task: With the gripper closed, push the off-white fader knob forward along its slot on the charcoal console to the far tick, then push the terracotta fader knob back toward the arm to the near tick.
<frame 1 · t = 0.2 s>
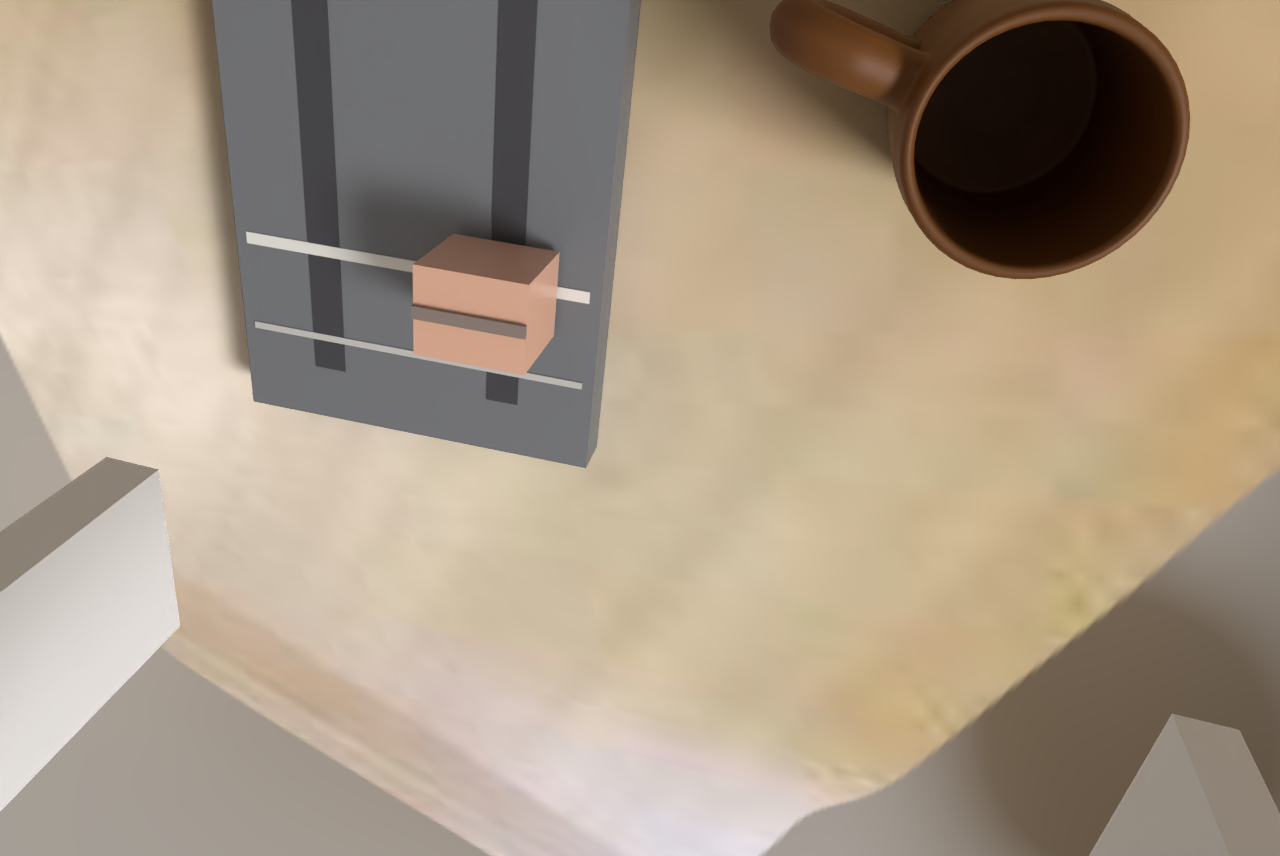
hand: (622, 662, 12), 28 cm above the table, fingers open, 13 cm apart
mug: (938, 70, 33), on the table
fader b: (486, 303, 36), point 4 cm above the table, slide at 20.0 cm
console: (433, 56, 37), on the table
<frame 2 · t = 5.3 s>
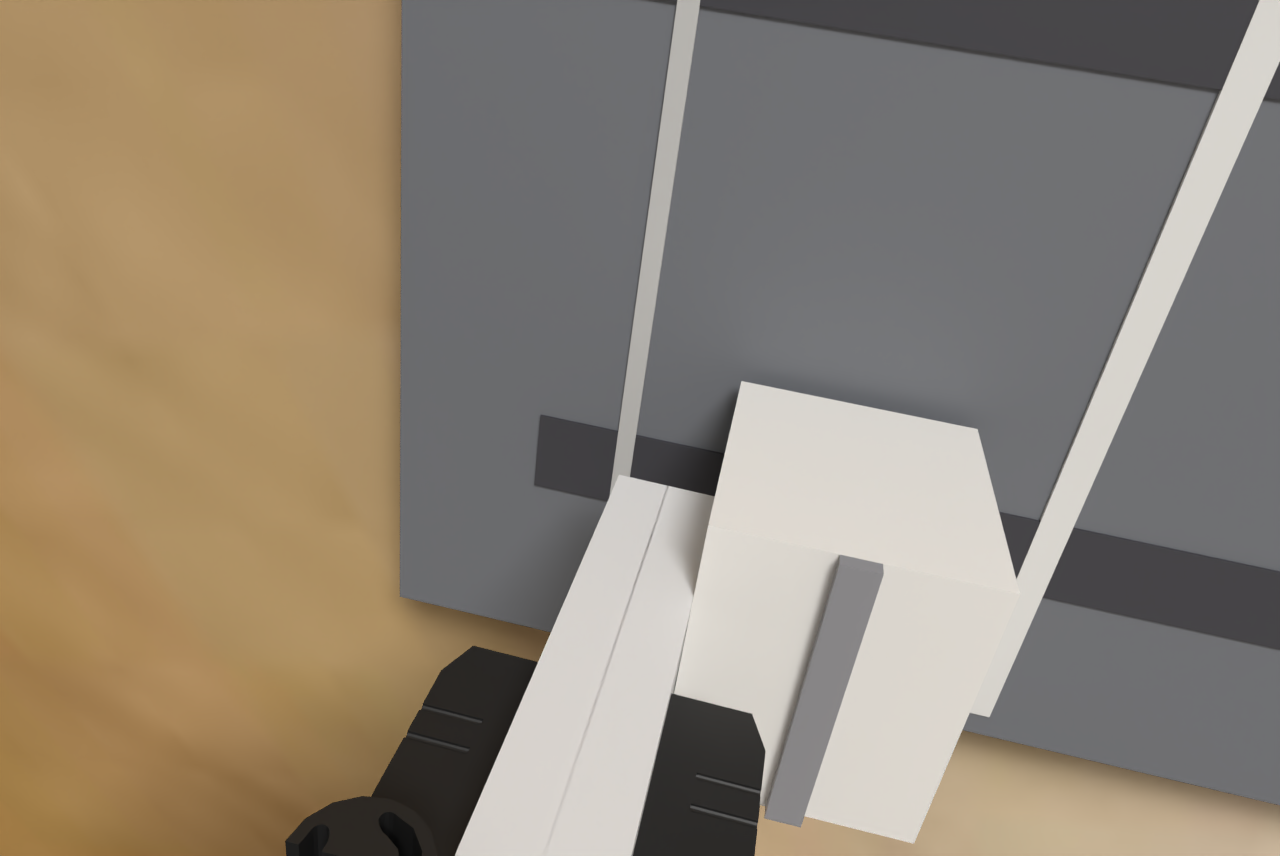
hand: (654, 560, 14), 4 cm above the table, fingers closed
fader a: (822, 602, 13), point 4 cm above the table, slide at 3.5 cm, touching gripper
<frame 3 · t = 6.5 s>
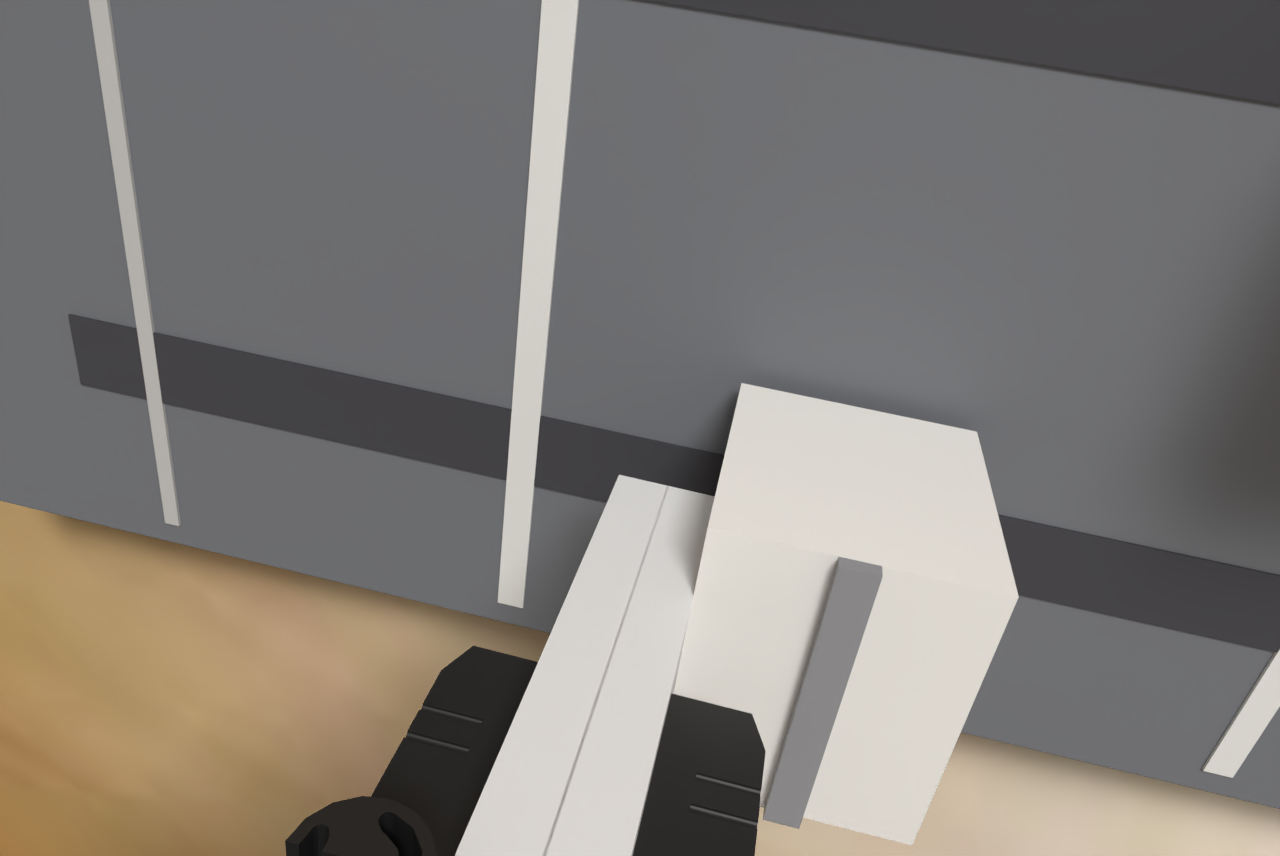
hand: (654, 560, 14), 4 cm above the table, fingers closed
console: (869, 246, 15), on the table
fader a: (821, 604, 14), point 4 cm above the table, slide at 12.2 cm, touching gripper
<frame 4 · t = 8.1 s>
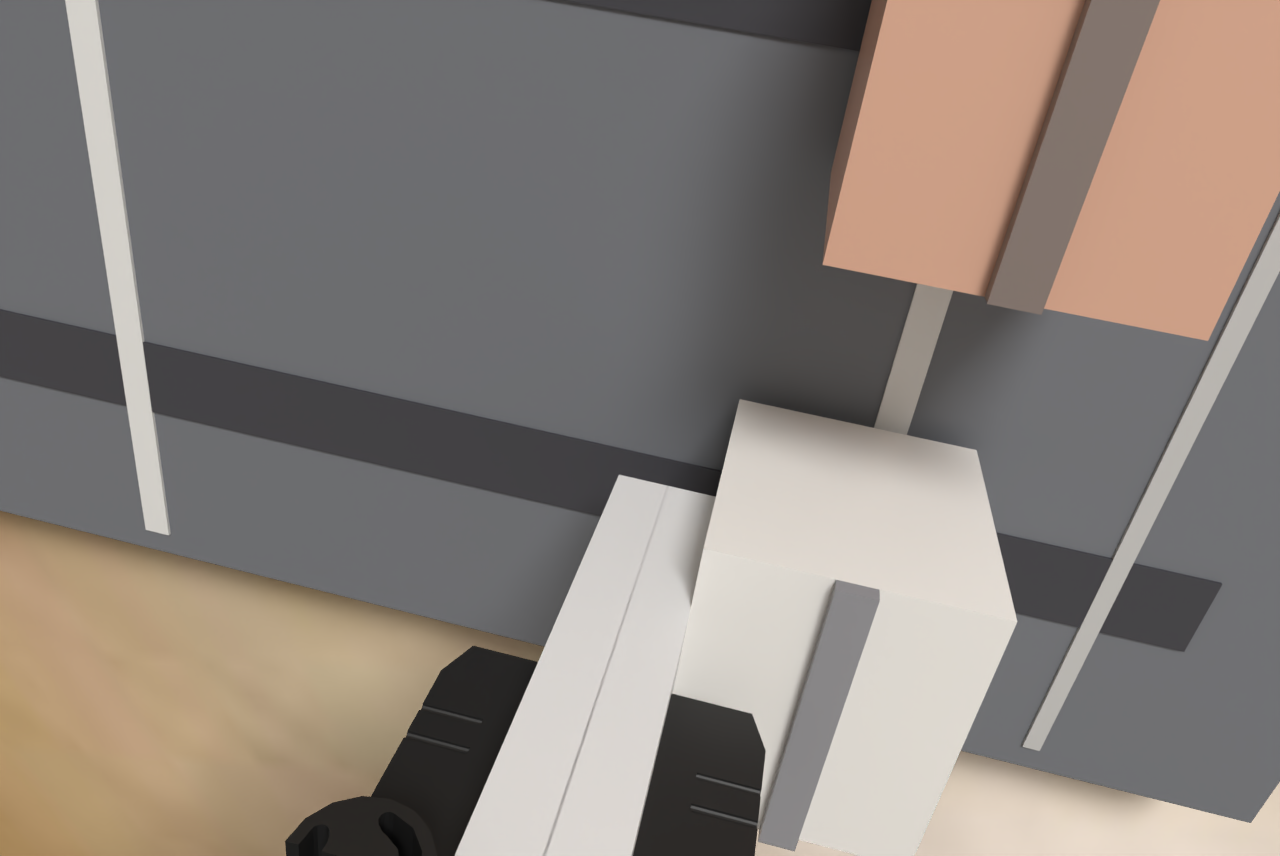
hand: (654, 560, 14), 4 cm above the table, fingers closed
fader b: (1055, 34, 9), point 4 cm above the table, slide at 20.0 cm
console: (450, 179, 16), on the table
fader a: (818, 623, 13), point 4 cm above the table, slide at 19.4 cm, touching gripper
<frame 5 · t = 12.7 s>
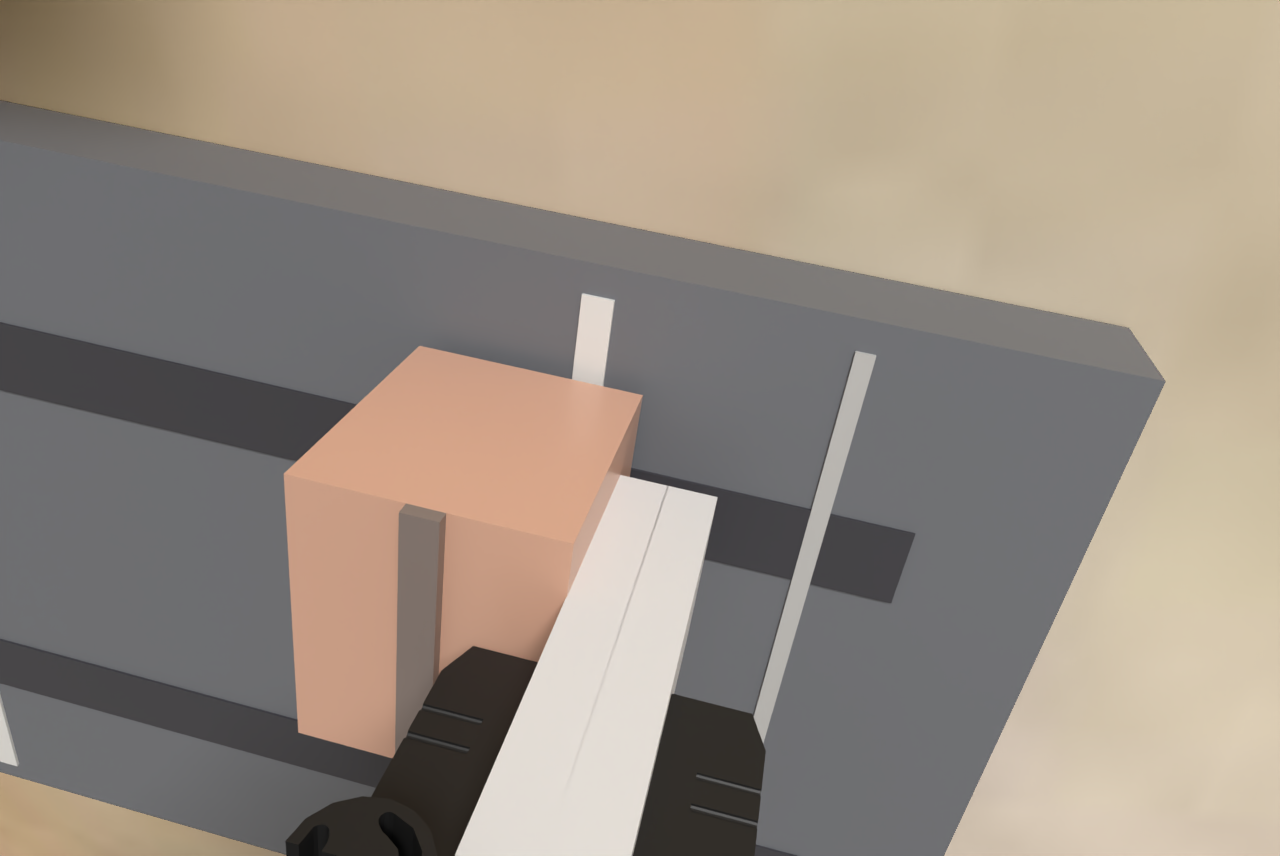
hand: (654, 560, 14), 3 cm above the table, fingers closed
fader b: (473, 562, 14), point 4 cm above the table, slide at 19.1 cm, touching gripper
console: (223, 512, 20), on the table
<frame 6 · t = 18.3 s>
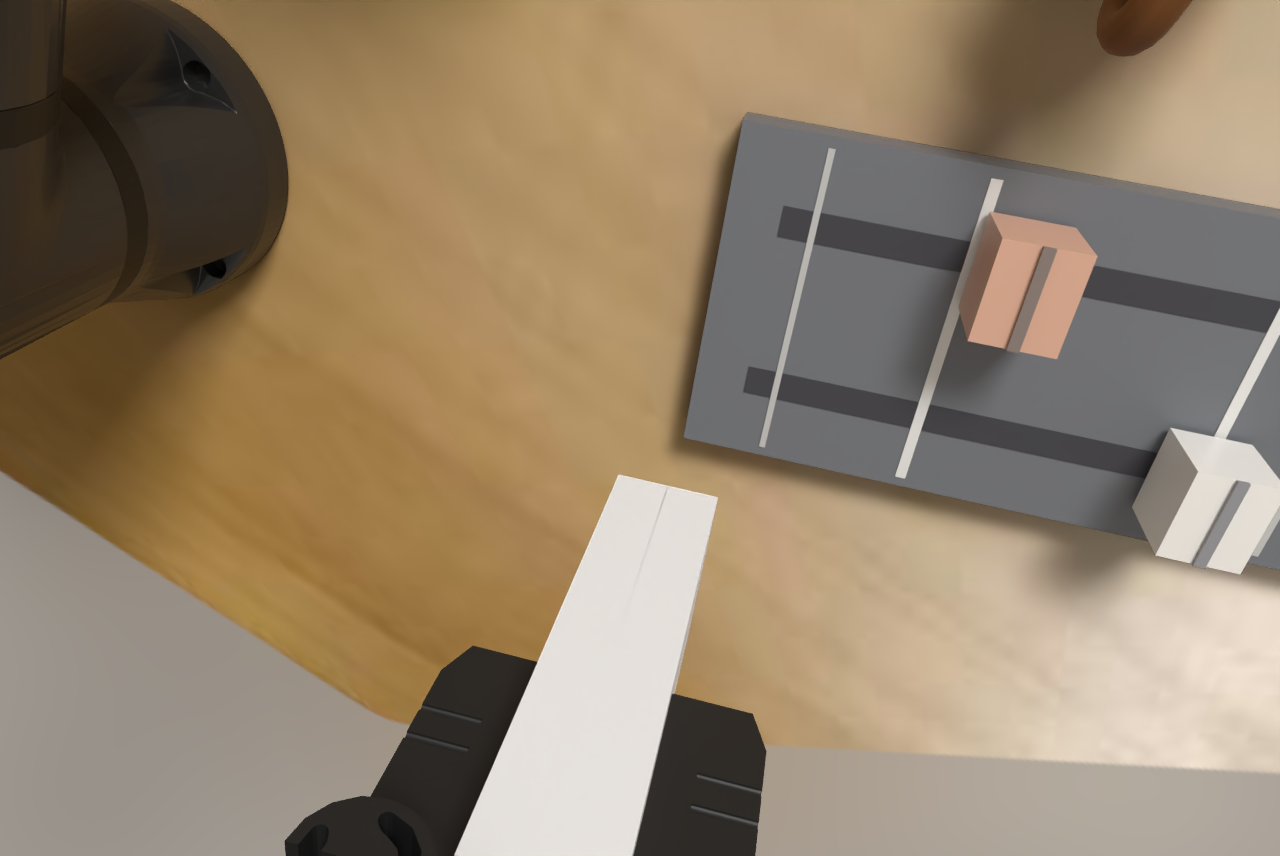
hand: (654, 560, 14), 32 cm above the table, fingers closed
fader b: (1022, 284, 39), point 4 cm above the table, slide at 8.9 cm
console: (1047, 346, 44), on the table
fader a: (1205, 500, 42), point 4 cm above the table, slide at 19.5 cm
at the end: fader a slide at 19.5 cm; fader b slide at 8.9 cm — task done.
